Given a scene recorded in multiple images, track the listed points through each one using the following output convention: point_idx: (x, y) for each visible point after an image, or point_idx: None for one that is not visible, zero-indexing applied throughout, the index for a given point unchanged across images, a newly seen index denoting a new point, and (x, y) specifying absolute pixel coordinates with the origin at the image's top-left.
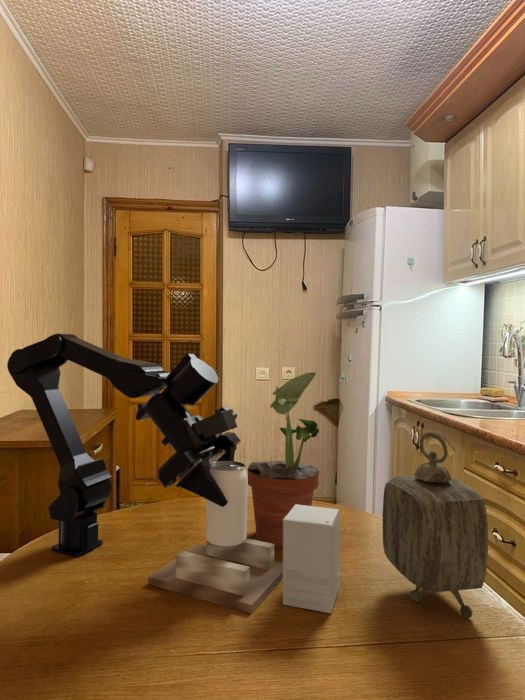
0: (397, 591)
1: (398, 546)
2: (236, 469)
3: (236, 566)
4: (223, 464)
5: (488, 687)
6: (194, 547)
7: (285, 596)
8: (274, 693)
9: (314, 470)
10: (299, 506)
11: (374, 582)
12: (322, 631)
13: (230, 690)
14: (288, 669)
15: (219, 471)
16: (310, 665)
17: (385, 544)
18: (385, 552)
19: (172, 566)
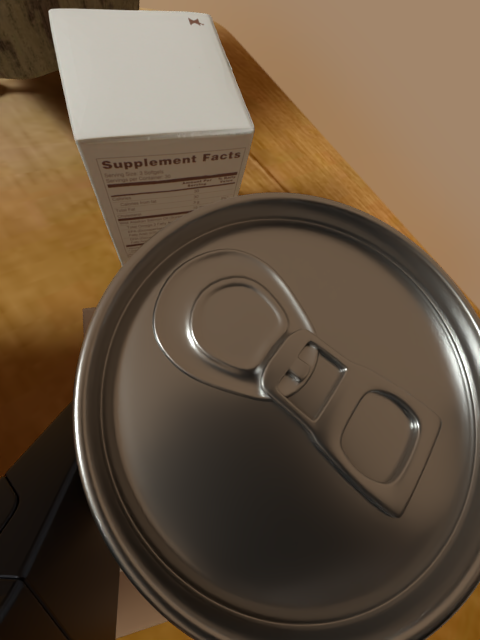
0: (56, 123)
1: (53, 3)
2: (364, 214)
3: None
4: (244, 530)
5: (225, 38)
6: (132, 620)
7: None
8: (376, 197)
9: None
10: (100, 117)
11: (40, 159)
12: (245, 190)
13: (406, 235)
14: (338, 199)
15: (469, 348)
16: (315, 181)
17: (3, 52)
18: (13, 74)
19: None
